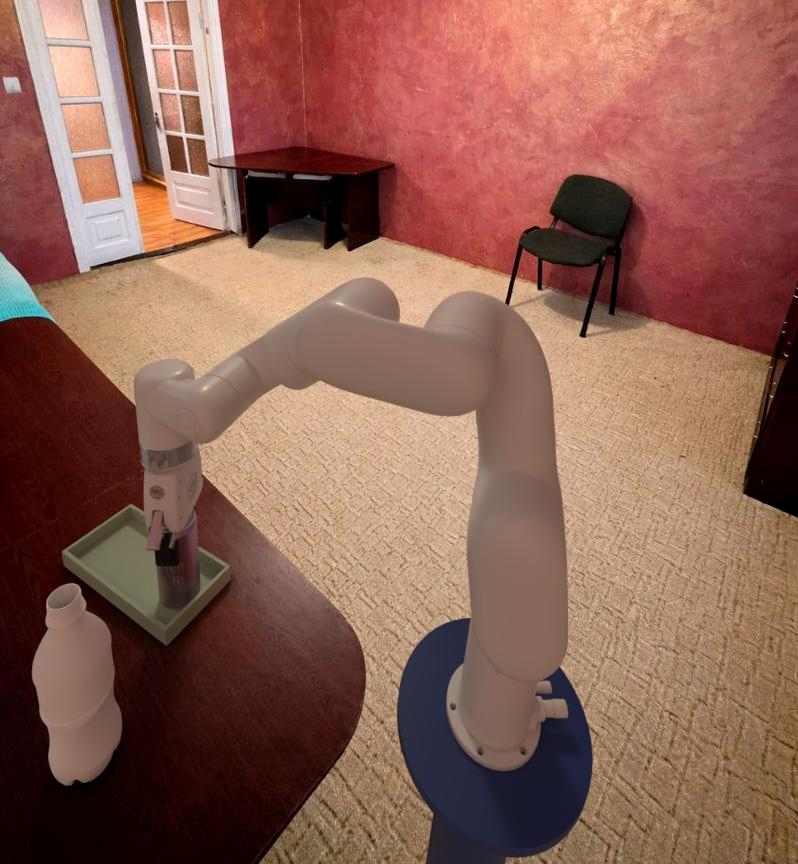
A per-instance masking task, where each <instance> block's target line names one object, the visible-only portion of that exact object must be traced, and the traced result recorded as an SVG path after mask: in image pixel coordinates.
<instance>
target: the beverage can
mask: <svg viewBox="0 0 798 864" xmlns="http://www.w3.org/2000/svg"><path fill="white" fill-rule="evenodd" d="M169 534H170V531H162V534H161V539H169ZM175 541H176V542H178V546H179V560H180V562H179V564H178V566H176V567H171V566H157V565H156V567H157V578H158V589H159V599H160V602H161V604H162V605H163V606H165V607H166V608H169V609H180V608H183V607H185V606H186V605H187V604H188V603H189V602H190V601H191V600H192V599H193V598H195V597H196V596H197V594H198V593H199V590H200V586H201V583H200V565H199V547H200V546H199V532H198V517H197V513H196V514H195V510H194V508H193V510H192V512H191V514H190V517H189V519H188V521H187V523H186V524H185V526H184V528H183V529H182V530H181V531H180V532H177V533H176V540H175ZM198 546H199V547H198Z"/></svg>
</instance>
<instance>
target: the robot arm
mask: <svg viewBox="0 0 798 864" xmlns="http://www.w3.org/2000/svg"><path fill="white" fill-rule="evenodd" d="M400 319H401V309H400V303H399V300H398V297H397V296H396V294H395V293H394V291H393V290H392V289H391V287H390V286H388V285H387V283H385V282H384V281H381V280H380V279H377V278H373V277H363V276H362V277H357V278H353V279H350V280H347V281H346V282H343V283H341V284H340V285H338V286H337V287H335V288H334V289H331V290H330V291H329V292H327V293H326V294H324V295H322V296H321V297H319V298H318V299H316V300H315V301H312V302H311V303H309V304H308V305H307V306H304V307H303V308H302V309H300V310H299V311H297V312H295V313H294V314H293V315H290V316H289V317H288V318H286V319H284V320H283V321H281V322H280V323H278V324H276V325H275V326H273V327H271V328H270V329H268V330H267V331H266V332H265V334H263V335H262V336H260V337H258V338H257V339H255V340H253V341H252V342H250V343H248V344H247V345H246V346H244V347H242V348H241V349H239V350H238V351H236V352H234V353H232V354H231V355H230V356H228V357H226V358H225V359H224V360H222V361H221V362H219V363H218V364H216V365H215V366H214V367H212V368H211V369H209V370H208V371H207V372H205V373H204V374H203V375H202V376H200V377H198V378H196V375H195V371H194V368H193V366H192V365H191V364H190V363H188V362H187V361H185V360H181V359H178V358H165V359H159V360H155V361H152V362H149V363H147V364H146V365H144V366H142V367H141V368H140V369H139V370H138V371H137V372H136V374H135V376H134V379H133V394H134V402H135V403H134V404H135V414H136V415H135V416H136V425H137V435H138V445H139V455H140V458H139V459H140V464H141V465H142V467H143V468H144V470H143V471H144V472H143V511H144V515H145V523H146V527H147V530H148V531H149V532H150V534H149V538H148V542H147V547H146V550H154V551H155V562H156V565H157V566H171V567H176V566H178V564H179V562H180V560H179V546H178V542H176V541H175V540H176V533H177V532H180V531H181V530H182V529H183V528H184V526H185V524H186V523H187V521H188V519H189V517H190V514H191V512H192V510H193V508H194V510H195V514H196V515H197V510H196V508H197V507H196V505H197V501H198V500H199V498H200V495H201V493H202V490H203V488H204V475H203V466H202V459H201V450H200V447H199V446H200V445H205V444H210V443H211V442H214V441H215V440H217V439H218V438H220V437H221V436H222V435H223V433H225V432H226V431H227V430H228V429H229V428H230V427H231V426H232V425H234V423H235V422H236V421H237V420H238V419H239V418H240V417H241V416H242V415H243V414H244V413H245V412H246V411H247V410H248V409H249V408H250V407H251V406H253V404H255V403H256V402H257V401H258V400H259V399H261V397H263V396H264V395H266V394H267V393H269V392H271V391H272V390H274V389H276V388H277V387H279V386H283V387H285V388H288V389H289V390H292V391H293V390H294V391H302V390H306V389H308V388H310V387H312V386H314V385H315V384H317V383H319V382H322V383H324V384H326V385H329V386H331V387H333V388H337V389H339V390H341V391H344V392H348V393H352V394H354V395H358V396H360V397H361V396H362V397H365V398H368V399H373V400H375V401H380V402H383V403H387V404H391V405H395V406H398V407H400V408H405V409H409V410H411V411H415V412H419V413H423V414H427V415H430V416H431V415H432V416H438V417H447V418H448V417H460V416H465V415H467V414H471V413H473V412H474V411H475V425H476V430H477V431H476V432H477V450H478V451H477V452H478V462H477V471H476V475H475V481H474V486H473V491H472V496H471V504H470V508H469V515H468V522H467V530H466V563H467V566H466V567H467V576H468V590H469V591H468V592H469V601H470V618H471V620H470V626H469V633H468V639H467V645H466V652H465V658H464V663H463V664H462V665H461V666H460V667H459V668H458V669H457V670H456V671H455V673H454V674H453V676H452V677H451V680H450V683H449V686H448V691H447V699H446V709H447V716H448V720H449V725H450V727H451V730H452V732H453V734H454V736H455V738H456V740H457V741H458V743H459V745H460V746H461V747H462V748H463V750H464V751H465V752H466V753H467V754H468V755H469V756H470V757H471V758H472V759H473V760H475V761H476V762H478V763H479V764H481V765H483V766H484V767H487V768H490V769H493V770H497V771H510V770H514V769H517V768H519V767H521V766H523V765H524V764H525V763H526V762H528V761H529V759H530V758H531V757H532V755H533V754H534V752H535V750H536V747H537V745H538V741H539V737H540V730H541V722H544V721H545V718H568V708H567V704H566V702H565V700H564V699H551V700H542V698H541V696H535V694H536V693H542V694H551V693H552V687H551V683H550V681H541V680H543V679H545V678H547V677H549V676H550V675H552V674H553V673H554V672H555V671H556V670H557V669H558V668H559V666H560V667H561V665H562V663H563V662H564V660H565V657H566V655H567V651H568V646H569V593H568V592H569V588H568V587H569V584H568V582H569V581H568V555H567V537H566V525H565V524H566V523H565V513H564V503H563V495H562V487H561V484H560V478H559V473H558V472H559V471H558V462H557V440H556V438H557V437H556V426H555V425H556V424H555V408H554V406H555V405H554V393H553V387H552V379H551V374H550V369H549V366H548V362H547V359H546V356H545V352H544V351H543V348H542V346H541V344H540V342H539V339H538V338H537V336H536V335H535V333H534V331H533V329H532V328H531V327H530V325H529V324H528V322H527V321H526V320H525V319H524V317H522V316H521V315H520V314H519V313H518V312H517V311H516V310H515V309H514V308H513V307H512V306H510V305H508V304H507V303H506V302H504V301H502V300H501V299H499V298H497V297H494V296H493V295H490V294H487V293H485V292H480V291H474V290H464V291H459V292H456V293H453V294H451V295H449V296H447V297H446V298H445V299H443V300H442V301H441V302H440V303H438V304H437V306H435V308H434V309H433V310H432V311H431V313H430V315H429V317H428V318H427V320H426V322H425V324H424V325H423V327H421V326H417V325H413V324H408V323H405V322H400ZM162 531H170V534H169V539H161V534H162ZM451 709H453V710H451ZM521 753H523V754H524V755H522V754H521ZM479 754H481V755H479Z"/></svg>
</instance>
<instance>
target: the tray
mask: <svg viewBox="0 0 798 864" xmlns="http://www.w3.org/2000/svg"><path fill="white" fill-rule="evenodd" d="M149 534H150V532H149V531H148V530H147V527H146V523H145V515H144V510H142V509H140V508H139V507H137V506H135V505H134V504H132V503H130V504H128V505H127V506H126V507H124V508H123V509H121V510H120V511H119V512H117V513H116V514H113V516H111V517H110V518H108V519H107V520H105V521H104V522H102V523H101V524H100V525H97V526H96V527H95V528H94V529H92V530H91V531H90V532H88V533H86V534H85V535H83V536H82V537H81V538H79V539H78V540H77V541H75V542H73V543H72V544H71V545H68V547H66V548H65V549H63V550H62V551H61V556H62V563H63V567H64V568H66V569H68V570H69V571H70V572H71V573H72V574H74V576H77V578H79V579H80V580H81V581H83V582H84V583H85V584H87V585H88V586H89V587H91V588H92V590H94V591H95V592H97V593H98V594H99V595H101V596H102V597H103V598H104V599H105V600H107V601H108V602H110V603H111V604H112V605H113V606H115V607H116V608H117V609H119V610H120V611H121V612H122V613H124V614H125V615H126V616H127V617H129V618H130V619H131V620H132V621H134V622H135V623H137V625H139V626H140V627H141V628H142V629H144V630H145V631H146V632H148V633H149V634H150V635H152V636H153V637H154V638H155V639H157V640H158V641H159V642H160V643H162V644H163V645H164V646H166V647H167V646H169V645H170V643H172V641H173V640H174V639H175V638H176V637H177V636H178V635H179V634H180V633H181V632H182V631H183V630H184V629H185V628H186V627H187V626H188V625H189V624H190V623H191V622H192V621H193V620H194V619H195V618H196V617H197V616H198V615H199V613H201V611H203V609H205V608H206V606H207V605H208V604H209V603H210V602H211V601H213V600H214V598H215V597H216V596H217V595H218V594H219V593H220V592H221V591H222V590H223V589H224V588H225V587H226V586H227V584H228V583H230V581H231V580H232V573H231V572H232V571H231V570H232V569H231V567H232V566H231V565H229V563H227V562H225V561H224V560H222V559H221V558H218V557H217V556H215V555H214V554H212V553H211V552H209V551H208V550H206V549H204V548H203V547H202V546H199V545H198V547H199V565H200V583H201V586H200V590H199V593H198V594H197V596H196V597H195V598H193V599H192V600H191V601H190V602H189V603H188V604H187V605H186V606H185V607H183V608H180V609H169V608H166V607H165V606H163V605H162V604H161V602H160V599H159V589H158V578H157V567H156V562H155V551H154V550H146V547H147V542H148V538H149Z"/></svg>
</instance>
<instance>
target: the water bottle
mask: <svg viewBox="0 0 798 864" xmlns="http://www.w3.org/2000/svg"><path fill="white" fill-rule="evenodd" d="M45 609H46V616H45V625H46V627H47V630H46V632H45V634H44V636H43V637H42V639H41V640H40V643H39V645H38V647H37V649H36V651H35V655H34V658H33V661H32V668H31V678H32V679H31V680H32V682H33V686H35V689H36V695H37V700H38V705H39V716H40V718H41V720H42V722H43V723H44V725H45V726H46V727H47V731H48V737H49V747H48V755H47V757H48V764H49V768H50V771H51V774H52V776H53V777H54V778H55V779H56V780H57V782H58V783H60V784H61V785H64V786H67V787H68V786H73V784H74V782H75V781H76V780H77V781H79V782H80V783H83V784H84V783H86V784H87V783H88V782H92V781H94V780H95V779H97V778H98V777H99V776H100V775H101V774H102V773H103V772H104V771H105V769H106V768H107V766H108V764H109V763H110V761H111V759H112V757H113V754H114V751H115V750H116V749H118V746H119V744H120V742H121V738H122V733H123V717H122V712H121V708H120V705H119V704H118V702H117V701H116V698H115V693H114V682H115V673H116V671H115V670H116V668H115V664H114V659H113V651H112V635H111V630H110V629H109V627H108V625H107V623H105V621H104V620H103V619H102V618H100V617H99V616H98V615H95V614H94V613H92V612H90V611H87V610H86V609H87V601H86V600H85V598H84V596H83V595H82V589H81V587H80V586H79V585H78V584H76V583H66V584H63V585H60V586H58V587H57V588H56V589H54V590H53V591H52V592H51V593H50V594H49V596H48V597H47V599H46V606H45Z"/></svg>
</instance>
